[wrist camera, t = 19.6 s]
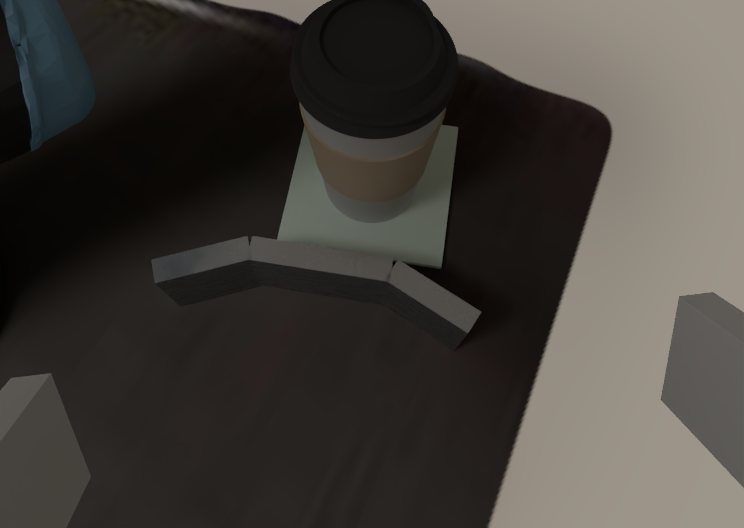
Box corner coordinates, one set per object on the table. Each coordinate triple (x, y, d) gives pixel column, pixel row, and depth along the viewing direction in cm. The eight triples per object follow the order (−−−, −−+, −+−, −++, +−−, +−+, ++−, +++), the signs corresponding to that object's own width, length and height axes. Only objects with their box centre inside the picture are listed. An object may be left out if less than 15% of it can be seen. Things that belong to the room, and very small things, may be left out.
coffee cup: (373, 261, 39) (381, 142, 25) (285, 184, 41) (245, 35, 27) (454, 179, 41) (502, 30, 27) (366, 111, 43) (369, -61, 29)
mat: (277, 243, 39) (276, 241, 39) (309, 108, 44) (309, 105, 43) (440, 269, 39) (441, 267, 39) (457, 130, 43) (458, 127, 43)
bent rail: (170, 305, 38) (144, 281, 33) (187, 251, 39) (163, 222, 34) (464, 352, 37) (479, 335, 32) (469, 296, 38) (485, 272, 34)
